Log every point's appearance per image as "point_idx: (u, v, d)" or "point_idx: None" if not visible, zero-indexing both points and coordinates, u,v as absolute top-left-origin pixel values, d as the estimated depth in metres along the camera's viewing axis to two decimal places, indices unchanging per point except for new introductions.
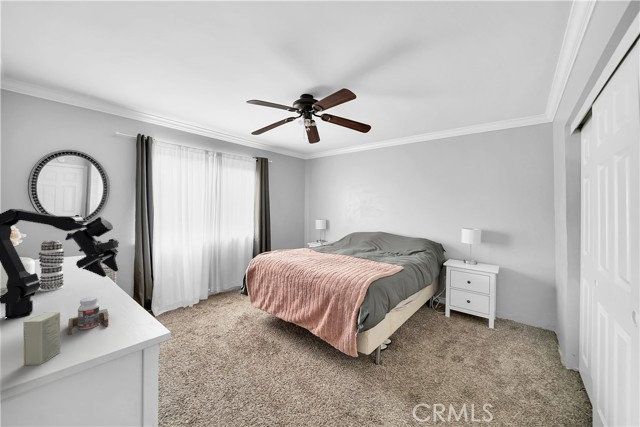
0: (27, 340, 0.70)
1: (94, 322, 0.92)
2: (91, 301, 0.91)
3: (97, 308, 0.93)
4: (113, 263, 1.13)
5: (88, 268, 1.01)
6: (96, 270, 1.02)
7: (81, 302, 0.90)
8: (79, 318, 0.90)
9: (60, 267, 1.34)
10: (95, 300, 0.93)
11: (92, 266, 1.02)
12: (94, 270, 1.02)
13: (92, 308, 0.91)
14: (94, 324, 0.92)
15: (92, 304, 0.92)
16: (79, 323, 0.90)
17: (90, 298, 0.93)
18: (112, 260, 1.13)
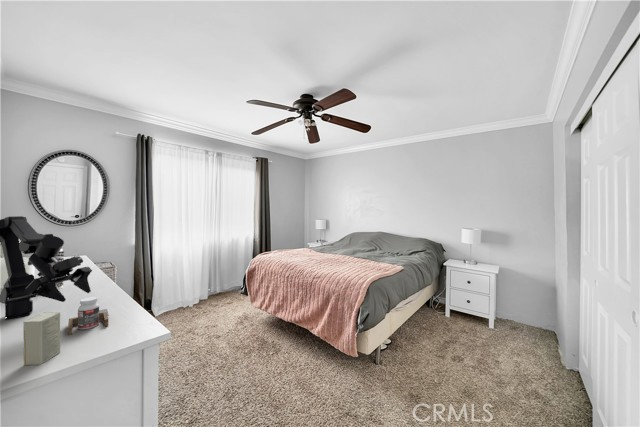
0: (27, 340, 0.70)
1: (94, 322, 0.92)
2: (91, 301, 0.91)
3: (97, 308, 0.93)
4: (84, 284, 0.97)
5: (42, 294, 0.86)
6: (52, 295, 0.87)
7: (81, 302, 0.90)
8: (79, 318, 0.90)
9: None
10: (95, 300, 0.93)
11: (47, 291, 0.87)
12: (50, 295, 0.87)
13: (92, 308, 0.91)
14: (94, 324, 0.92)
15: (92, 304, 0.92)
16: (79, 323, 0.90)
17: (90, 298, 0.93)
18: (83, 281, 0.98)
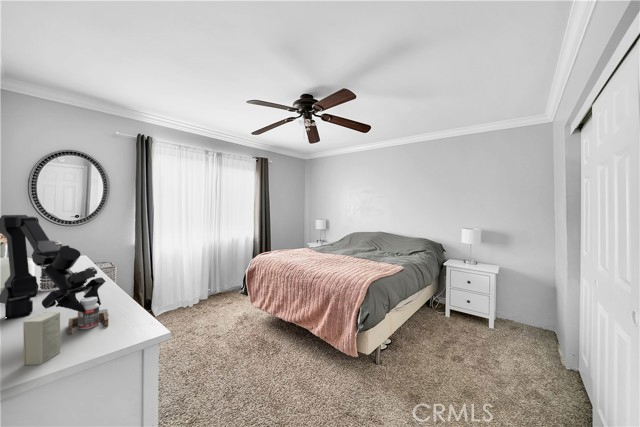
0: (27, 340, 0.70)
1: (94, 322, 0.92)
2: (91, 301, 0.91)
3: (97, 308, 0.93)
4: (94, 296, 0.96)
5: (63, 305, 0.88)
6: (72, 305, 0.88)
7: (81, 302, 0.90)
8: (79, 318, 0.90)
9: None
10: (95, 300, 0.93)
11: (68, 302, 0.88)
12: (70, 306, 0.88)
13: (92, 308, 0.91)
14: (94, 324, 0.92)
15: (92, 304, 0.92)
16: (79, 323, 0.90)
17: (90, 298, 0.93)
18: (93, 293, 0.96)
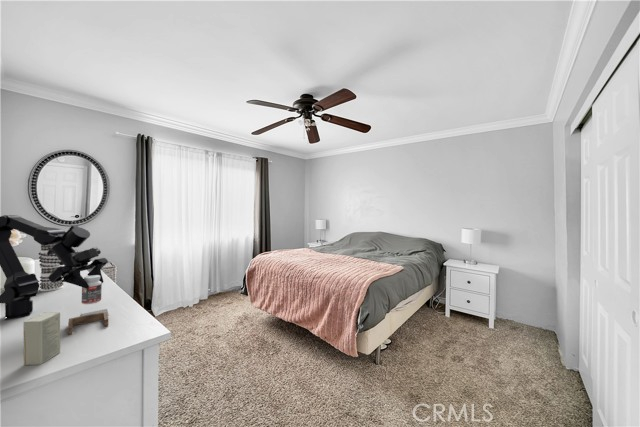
0: (27, 340, 0.70)
1: (97, 298, 0.98)
2: (94, 278, 0.98)
3: (100, 285, 0.99)
4: None
5: (68, 280, 0.94)
6: (76, 281, 0.95)
7: (85, 279, 0.97)
8: (83, 294, 0.96)
9: None
10: (98, 278, 0.99)
11: (72, 278, 0.95)
12: (75, 282, 0.95)
13: (95, 285, 0.98)
14: (96, 300, 0.98)
15: (95, 281, 0.98)
16: (82, 298, 0.96)
17: (93, 276, 1.00)
18: (96, 272, 1.03)
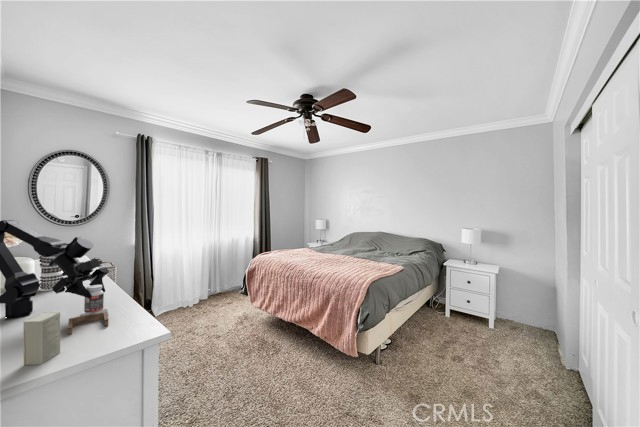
0: (27, 340, 0.70)
1: (99, 307, 1.01)
2: (96, 288, 1.01)
3: (102, 295, 1.02)
4: (99, 284, 1.05)
5: (71, 291, 0.97)
6: (79, 291, 0.98)
7: (87, 289, 1.00)
8: (86, 303, 0.99)
9: None
10: (100, 287, 1.02)
11: (75, 288, 0.98)
12: (78, 292, 0.98)
13: (98, 294, 1.01)
14: (99, 309, 1.01)
15: (97, 291, 1.01)
16: (85, 307, 0.99)
17: (95, 285, 1.03)
18: (98, 281, 1.05)
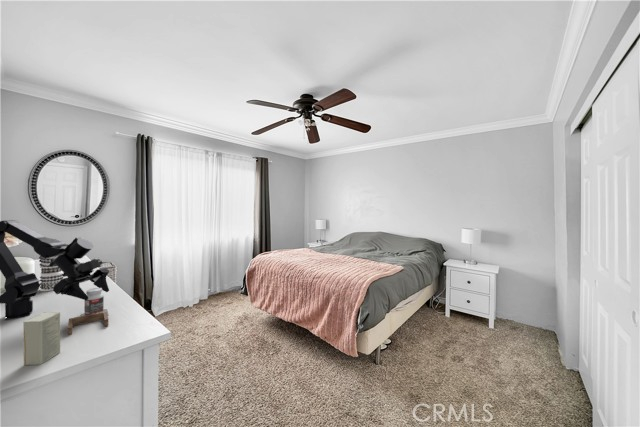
0: (27, 340, 0.70)
1: (99, 311, 1.01)
2: (96, 291, 1.01)
3: (102, 298, 1.02)
4: (103, 283, 1.07)
5: (68, 293, 0.96)
6: (76, 293, 0.96)
7: (87, 292, 1.00)
8: (85, 307, 0.99)
9: None
10: (100, 291, 1.02)
11: (72, 290, 0.96)
12: (74, 294, 0.96)
13: (97, 297, 1.01)
14: (99, 312, 1.01)
15: (97, 294, 1.01)
16: (85, 311, 0.99)
17: (95, 289, 1.03)
18: (102, 281, 1.07)
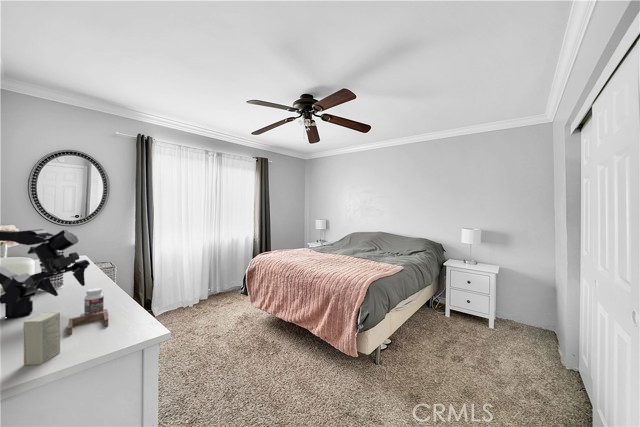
0: (27, 340, 0.70)
1: (99, 311, 1.01)
2: (96, 291, 1.01)
3: (102, 298, 1.02)
4: (80, 277, 1.07)
5: (39, 286, 0.97)
6: (47, 289, 0.97)
7: (87, 292, 1.00)
8: (85, 307, 0.99)
9: None
10: (100, 291, 1.02)
11: (43, 284, 0.97)
12: (45, 289, 0.97)
13: (97, 297, 1.01)
14: (99, 312, 1.01)
15: (97, 294, 1.01)
16: (85, 311, 0.99)
17: (95, 289, 1.03)
18: (79, 274, 1.07)
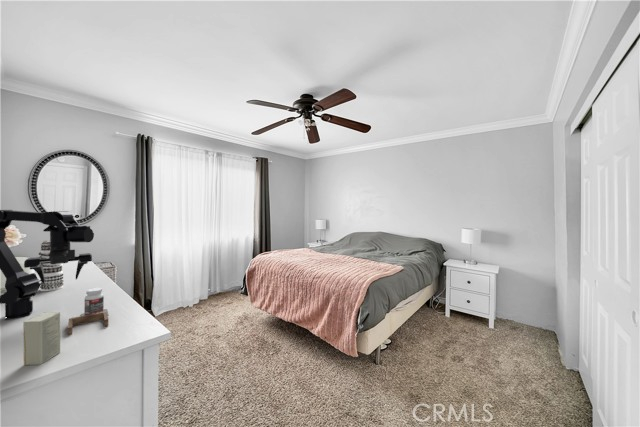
0: (27, 340, 0.70)
1: (99, 311, 1.01)
2: (96, 291, 1.01)
3: (102, 298, 1.02)
4: None
5: None
6: None
7: (87, 292, 1.00)
8: (86, 307, 0.99)
9: (60, 267, 1.34)
10: (100, 291, 1.02)
11: None
12: None
13: (97, 297, 1.01)
14: (99, 312, 1.01)
15: (97, 294, 1.01)
16: (85, 311, 0.99)
17: (95, 289, 1.03)
18: (77, 267, 1.06)
